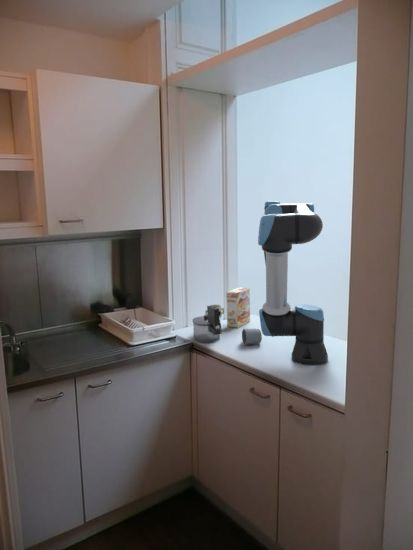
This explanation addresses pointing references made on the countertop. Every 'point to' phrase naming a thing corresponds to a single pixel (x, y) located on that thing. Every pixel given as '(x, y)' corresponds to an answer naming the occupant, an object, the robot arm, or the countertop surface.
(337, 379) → the countertop surface
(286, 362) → the countertop surface
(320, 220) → the robot arm
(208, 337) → the pot
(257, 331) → the ceramic mug
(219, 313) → the character mug
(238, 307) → the coffeecake box
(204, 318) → the lid
